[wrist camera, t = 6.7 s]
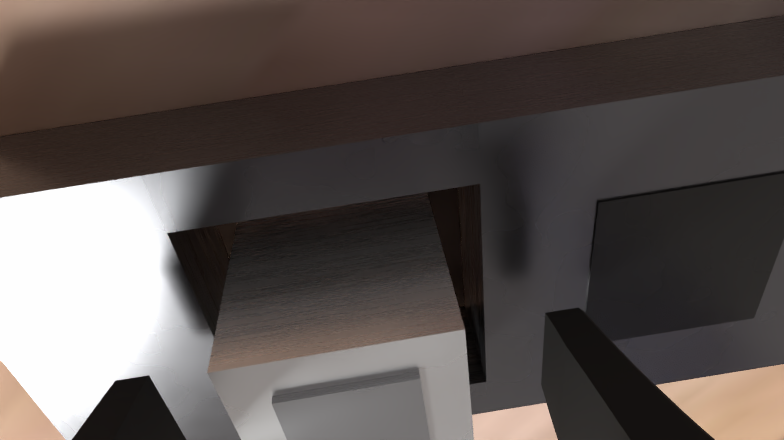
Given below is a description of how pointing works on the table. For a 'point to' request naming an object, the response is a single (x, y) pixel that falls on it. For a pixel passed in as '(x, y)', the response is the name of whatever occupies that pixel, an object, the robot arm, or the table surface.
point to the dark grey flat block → (413, 176)
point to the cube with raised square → (342, 327)
